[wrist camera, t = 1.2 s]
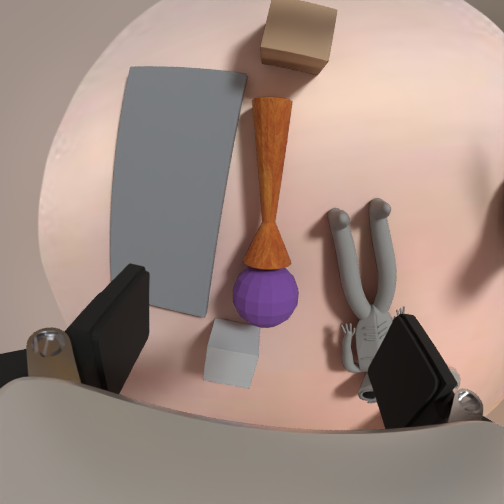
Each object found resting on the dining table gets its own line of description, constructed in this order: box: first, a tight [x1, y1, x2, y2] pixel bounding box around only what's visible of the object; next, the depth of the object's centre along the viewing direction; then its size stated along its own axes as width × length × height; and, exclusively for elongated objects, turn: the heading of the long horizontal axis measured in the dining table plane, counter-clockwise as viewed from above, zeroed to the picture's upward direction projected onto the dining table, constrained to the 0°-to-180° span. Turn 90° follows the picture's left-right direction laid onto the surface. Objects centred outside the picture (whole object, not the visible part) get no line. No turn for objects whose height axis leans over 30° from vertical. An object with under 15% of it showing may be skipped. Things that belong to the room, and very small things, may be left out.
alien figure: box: [328, 198, 405, 403], centre depth 28 cm, size 8×5×25 cm
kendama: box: [233, 97, 299, 328], centre depth 24 cm, size 6×6×20 cm
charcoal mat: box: [110, 66, 248, 318], centre depth 26 cm, size 24×11×1 cm, turn 169°
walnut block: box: [261, 0, 337, 75], centre depth 18 cm, size 5×5×5 cm
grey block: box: [203, 318, 260, 389], centre depth 30 cm, size 5×5×5 cm
